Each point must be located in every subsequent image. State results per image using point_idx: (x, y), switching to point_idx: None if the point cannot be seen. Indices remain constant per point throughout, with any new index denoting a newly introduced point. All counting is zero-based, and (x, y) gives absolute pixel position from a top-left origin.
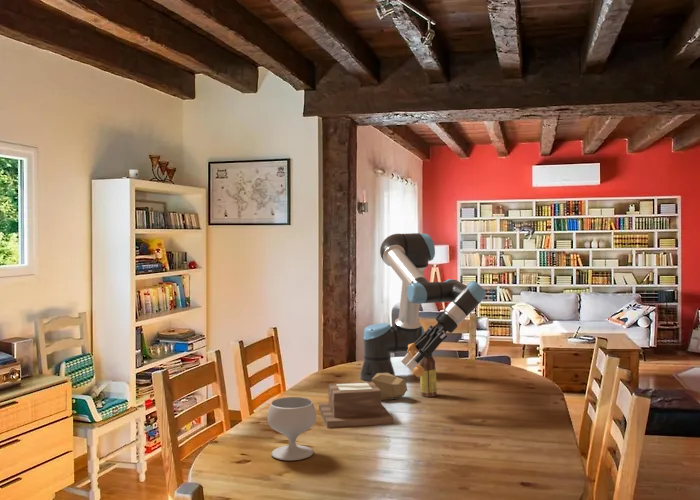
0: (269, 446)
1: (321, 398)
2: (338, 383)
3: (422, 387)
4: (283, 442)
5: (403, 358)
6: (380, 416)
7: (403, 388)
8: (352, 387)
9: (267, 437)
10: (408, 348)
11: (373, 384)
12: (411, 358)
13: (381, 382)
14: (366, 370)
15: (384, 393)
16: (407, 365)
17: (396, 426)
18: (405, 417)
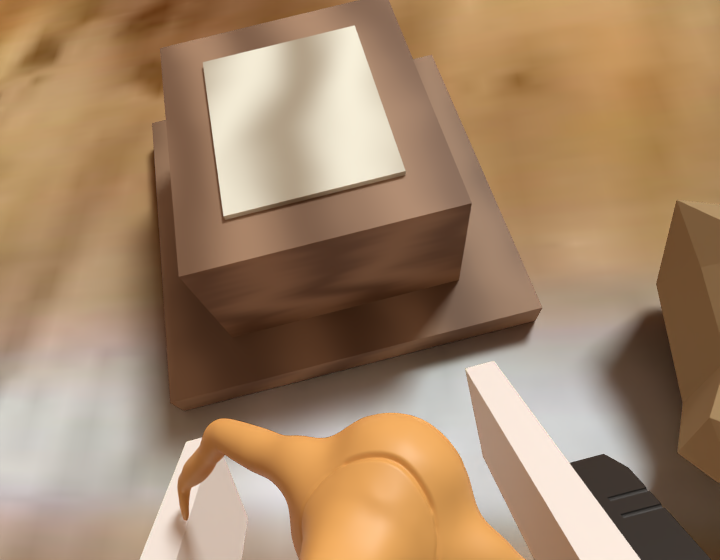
0: (8, 28)
1: (618, 55)
2: (395, 33)
3: None
4: (33, 51)
5: (490, 393)
6: (199, 334)
7: (714, 470)
8: (269, 107)
9: (94, 6)
10: (247, 437)
11: (377, 216)
12: (529, 532)
13: (702, 280)
14: None
15: (667, 333)
16: (184, 457)
17: (133, 431)
18: None
